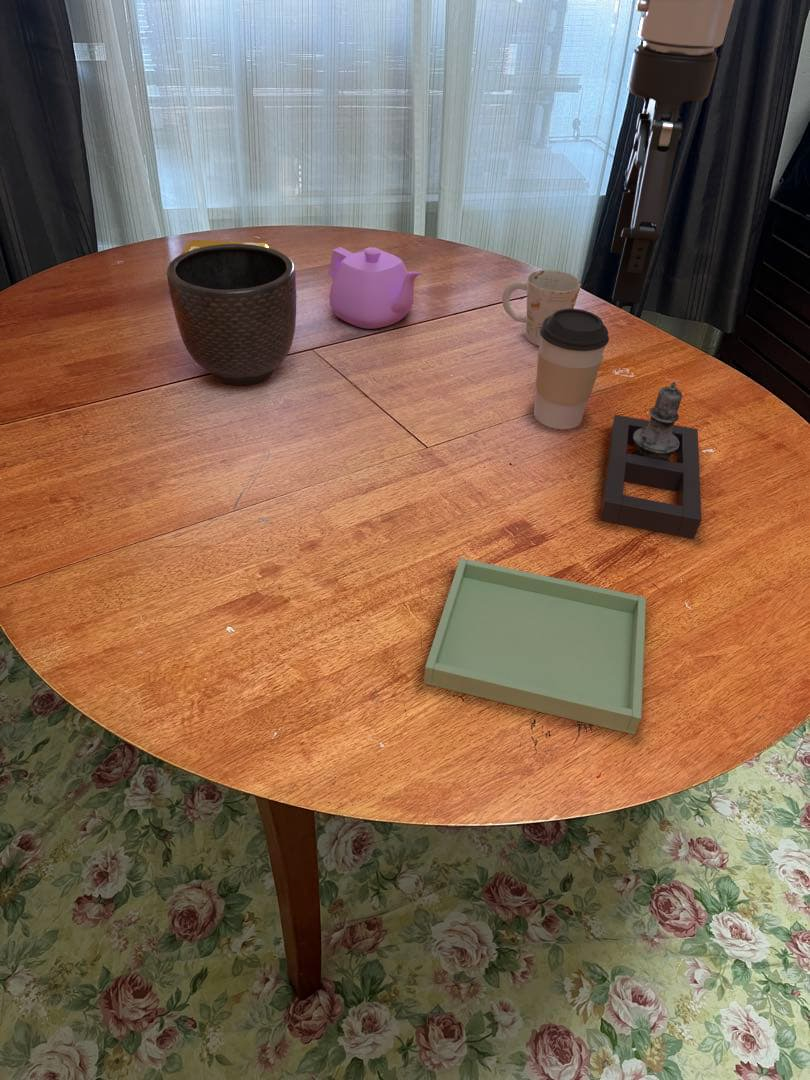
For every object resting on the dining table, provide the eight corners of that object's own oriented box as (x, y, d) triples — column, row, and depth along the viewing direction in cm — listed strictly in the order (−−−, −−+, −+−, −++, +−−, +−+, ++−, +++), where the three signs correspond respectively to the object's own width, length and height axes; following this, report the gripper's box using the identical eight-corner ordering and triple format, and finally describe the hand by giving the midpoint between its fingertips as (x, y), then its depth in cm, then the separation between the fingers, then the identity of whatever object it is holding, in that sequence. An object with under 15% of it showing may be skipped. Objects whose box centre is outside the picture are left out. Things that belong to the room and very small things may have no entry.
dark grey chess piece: (655, 481, 98) (682, 399, 90) (617, 460, 101) (640, 379, 93) (680, 464, 101) (708, 383, 93) (643, 444, 104) (667, 365, 96)
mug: (558, 355, 122) (570, 295, 116) (487, 335, 126) (495, 276, 120) (576, 335, 128) (588, 277, 121) (507, 317, 132) (515, 260, 125)
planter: (289, 405, 107) (282, 296, 97) (169, 396, 108) (148, 287, 97) (309, 348, 120) (304, 247, 110) (201, 340, 121) (186, 239, 110)
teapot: (391, 348, 122) (393, 280, 114) (305, 308, 131) (302, 244, 124) (443, 322, 129) (449, 258, 122) (359, 287, 139) (359, 225, 132)
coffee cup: (573, 396, 113) (594, 299, 103) (600, 429, 106) (625, 329, 96) (516, 402, 111) (532, 304, 101) (540, 436, 104) (559, 335, 94)
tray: (640, 613, 80) (646, 596, 78) (634, 735, 68) (641, 718, 67) (458, 574, 83) (460, 557, 81) (423, 683, 72) (424, 666, 70)
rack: (691, 447, 104) (697, 428, 102) (693, 539, 89) (701, 519, 87) (610, 432, 106) (614, 414, 104) (599, 520, 91) (604, 501, 89)
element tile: (192, 261, 144) (189, 236, 141) (271, 265, 145) (269, 239, 142) (174, 294, 133) (169, 267, 130) (259, 298, 133) (257, 271, 130)
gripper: (631, 24, 79) (590, 232, 93) (641, 67, 60) (588, 319, 74) (705, 30, 78) (652, 239, 92) (738, 75, 60) (666, 328, 73)
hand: (623, 275), depth 83 cm, fingers open, 13 cm apart
